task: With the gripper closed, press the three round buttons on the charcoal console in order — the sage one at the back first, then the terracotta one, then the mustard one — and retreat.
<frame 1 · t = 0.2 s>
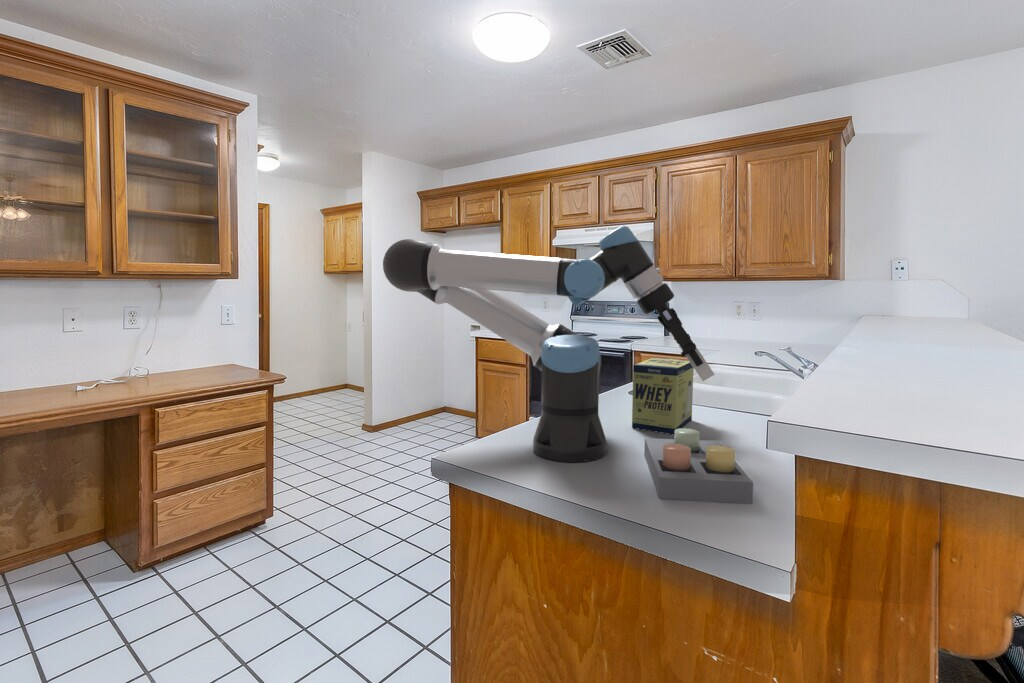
hand: (703, 371, 109), 15 cm above the counter, tool tilted 35°, fingers open, 13 cm apart
mustard button: (720, 458, 82), point 5 cm above the counter, slide at 0.0 cm
sage button: (686, 439, 93), point 5 cm above the counter, slide at 0.0 cm
terracotta button: (676, 456, 83), point 5 cm above the counter, slide at 0.0 cm
protein box: (662, 425, 122), on the counter
console: (691, 476, 88), on the counter
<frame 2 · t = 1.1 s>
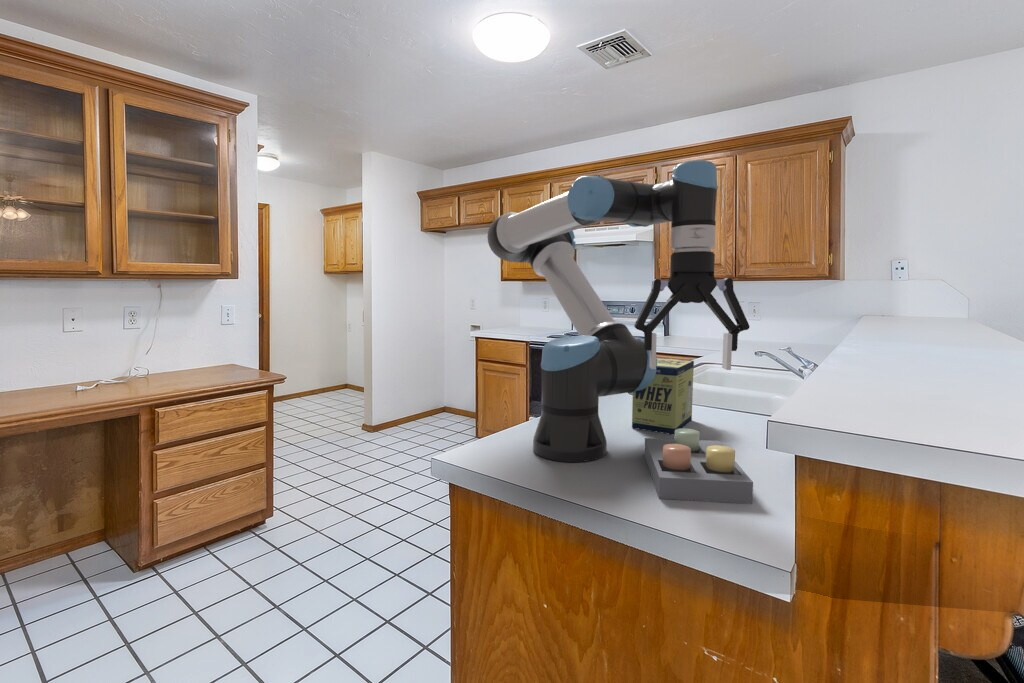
hand: (689, 368, 92), 19 cm above the counter, tool pointing down, fingers open, 12 cm apart
nothing on the counter moved.
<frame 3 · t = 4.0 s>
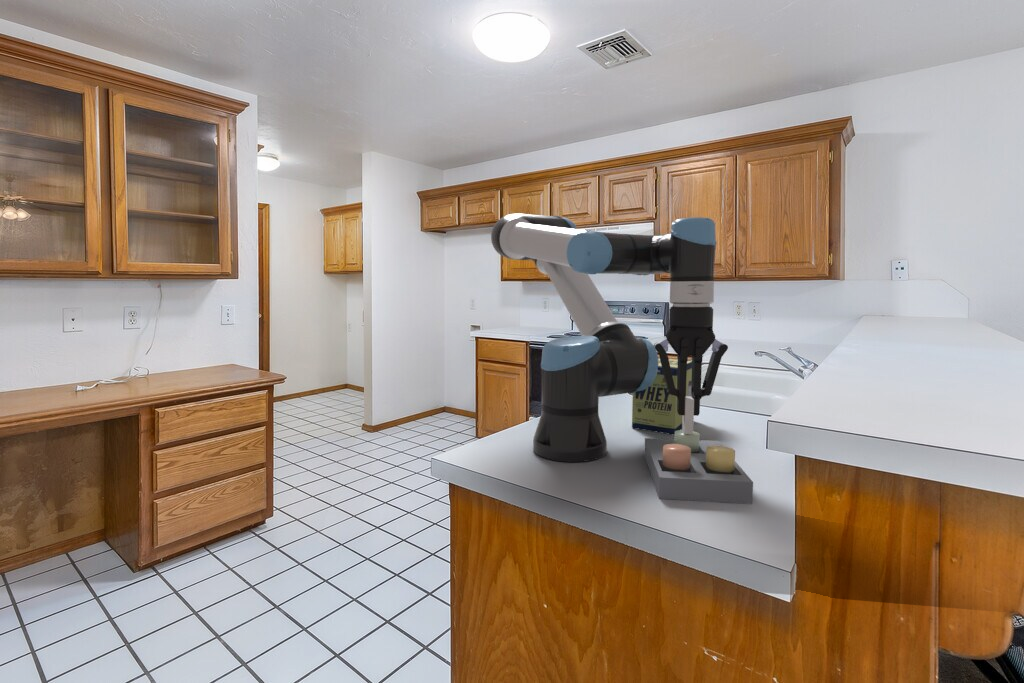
hand: (687, 432, 93), 7 cm above the counter, tool pointing down, fingers closed
sage button: (686, 441, 93), point 5 cm above the counter, slide at 0.3 cm, touching gripper
everything else where it was.
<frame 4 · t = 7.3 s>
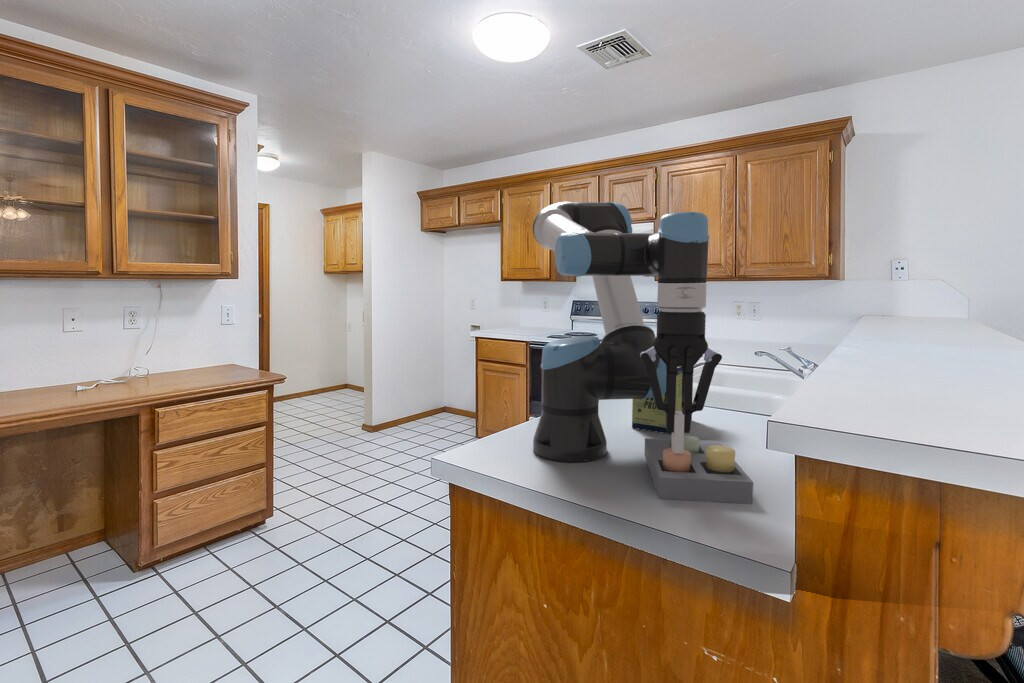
hand: (677, 450, 83), 6 cm above the counter, tool pointing down, fingers closed
sage button: (686, 446, 93), point 4 cm above the counter, slide at 1.3 cm
terracotta button: (676, 460, 84), point 4 cm above the counter, slide at 0.8 cm, touching gripper
everything else where it was.
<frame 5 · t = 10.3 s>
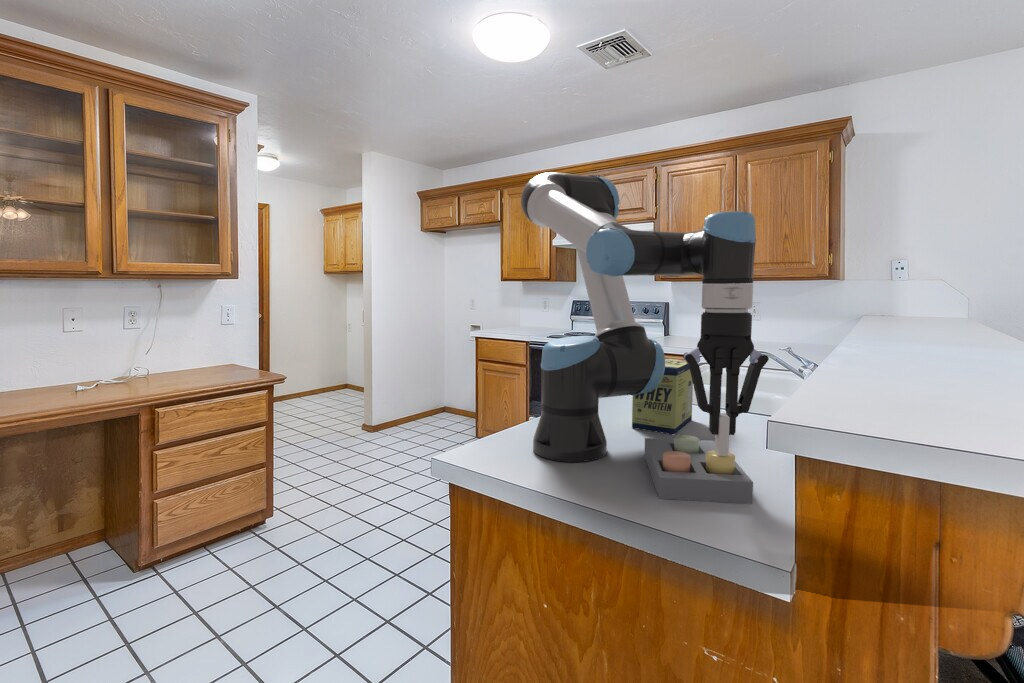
hand: (721, 453, 82), 6 cm above the counter, tool pointing down, fingers closed
mustard button: (720, 463, 83), point 4 cm above the counter, slide at 0.9 cm, touching gripper
terracotta button: (676, 463, 84), point 4 cm above the counter, slide at 1.3 cm
everything else where it was.
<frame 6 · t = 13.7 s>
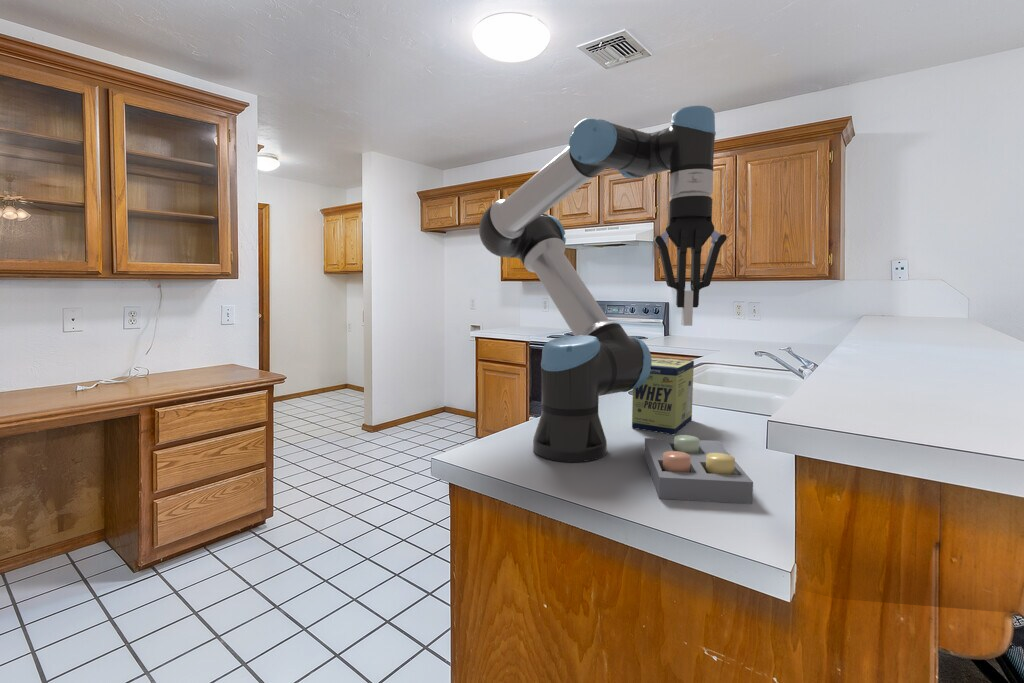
hand: (686, 325, 94), 26 cm above the counter, tool pointing down, fingers closed
mustard button: (720, 465, 83), point 4 cm above the counter, slide at 1.3 cm
everything else where it was.
at the end: sage button slide at 1.3 cm; terracotta button slide at 1.3 cm; mustard button slide at 1.3 cm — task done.
